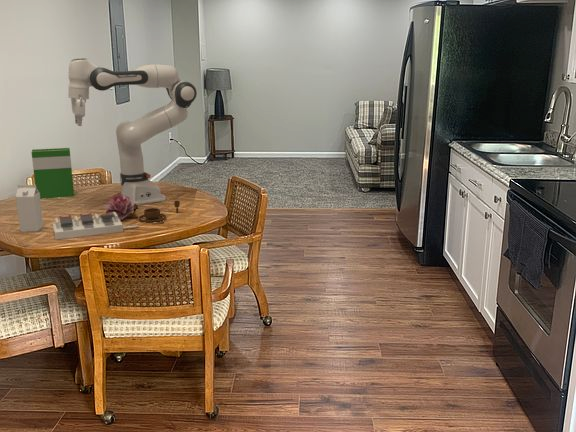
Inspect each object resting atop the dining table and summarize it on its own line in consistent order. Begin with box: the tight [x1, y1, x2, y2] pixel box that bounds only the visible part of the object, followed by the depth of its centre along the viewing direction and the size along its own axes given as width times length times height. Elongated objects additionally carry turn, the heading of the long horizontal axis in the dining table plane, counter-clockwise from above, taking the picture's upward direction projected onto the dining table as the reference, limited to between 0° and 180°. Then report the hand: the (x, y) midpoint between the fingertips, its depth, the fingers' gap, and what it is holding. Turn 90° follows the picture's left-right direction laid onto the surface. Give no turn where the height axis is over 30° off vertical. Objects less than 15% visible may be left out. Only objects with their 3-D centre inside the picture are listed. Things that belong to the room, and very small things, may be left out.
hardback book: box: [30, 147, 75, 200], centre depth 288 cm, size 18×7×24 cm, turn 111°
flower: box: [103, 193, 139, 222], centre depth 253 cm, size 15×15×10 cm
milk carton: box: [15, 184, 44, 233], centre depth 233 cm, size 7×7×19 cm
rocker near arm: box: [99, 213, 113, 219], centre depth 238 cm, size 4×7×2 cm, turn 25°
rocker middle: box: [79, 212, 94, 224], centre depth 234 cm, size 4×7×2 cm, turn 25°
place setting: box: [138, 200, 181, 225], centre depth 253 cm, size 18×20×6 cm
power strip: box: [52, 212, 139, 240], centre depth 235 cm, size 32×13×6 cm, turn 115°
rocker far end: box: [59, 214, 74, 226], centre depth 231 cm, size 4×7×2 cm, turn 25°
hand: (78, 124), depth 263 cm, fingers open, 8 cm apart
